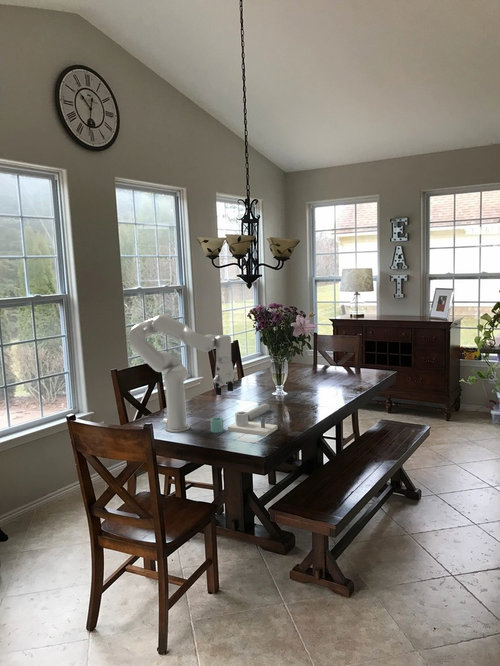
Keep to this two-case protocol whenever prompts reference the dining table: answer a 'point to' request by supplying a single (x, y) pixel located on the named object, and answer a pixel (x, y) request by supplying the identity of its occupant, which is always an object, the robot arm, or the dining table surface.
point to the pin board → (254, 428)
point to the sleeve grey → (241, 418)
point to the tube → (257, 411)
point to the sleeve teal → (216, 424)
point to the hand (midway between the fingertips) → (224, 392)
